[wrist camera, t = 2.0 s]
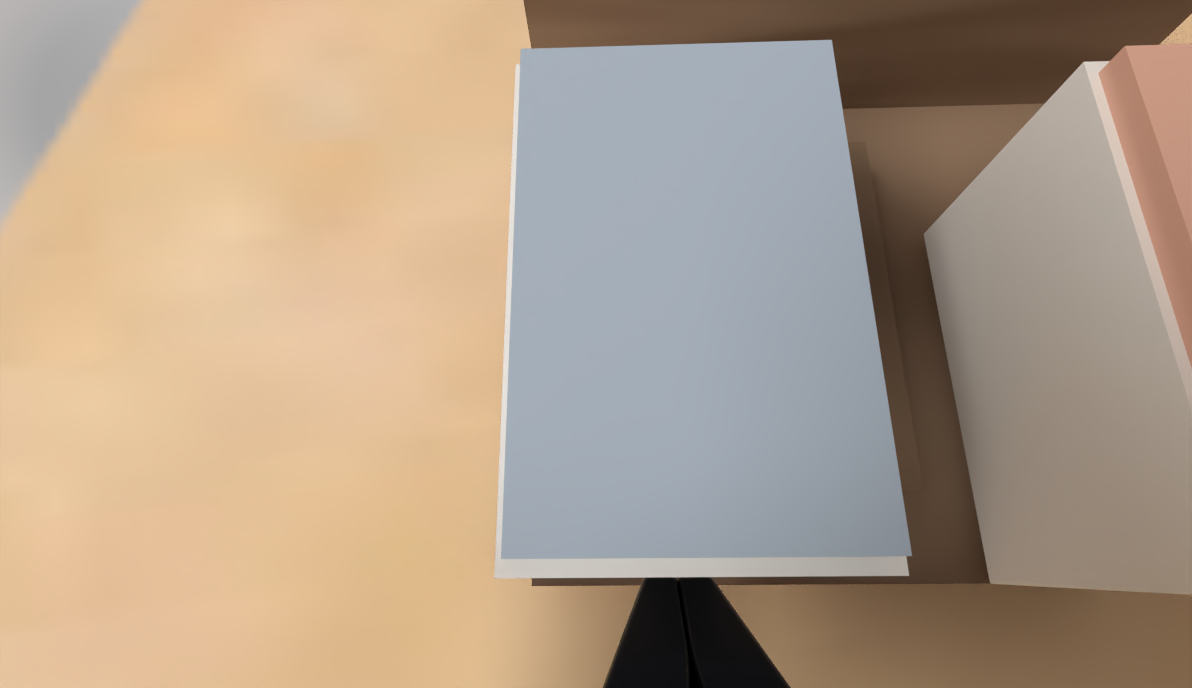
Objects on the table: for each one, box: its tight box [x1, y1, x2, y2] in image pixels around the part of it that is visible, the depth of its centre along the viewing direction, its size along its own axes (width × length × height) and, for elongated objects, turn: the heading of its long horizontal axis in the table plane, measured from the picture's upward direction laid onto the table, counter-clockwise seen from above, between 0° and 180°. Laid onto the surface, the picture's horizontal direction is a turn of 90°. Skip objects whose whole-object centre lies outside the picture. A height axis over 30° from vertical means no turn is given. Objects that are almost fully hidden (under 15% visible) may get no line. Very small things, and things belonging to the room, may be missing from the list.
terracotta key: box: [924, 44, 1192, 595], centre depth 10 cm, size 7×4×6 cm, turn 0°
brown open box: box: [524, 0, 1192, 586], centre depth 13 cm, size 12×13×10 cm
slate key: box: [494, 40, 912, 578], centre depth 10 cm, size 7×4×6 cm, turn 0°
